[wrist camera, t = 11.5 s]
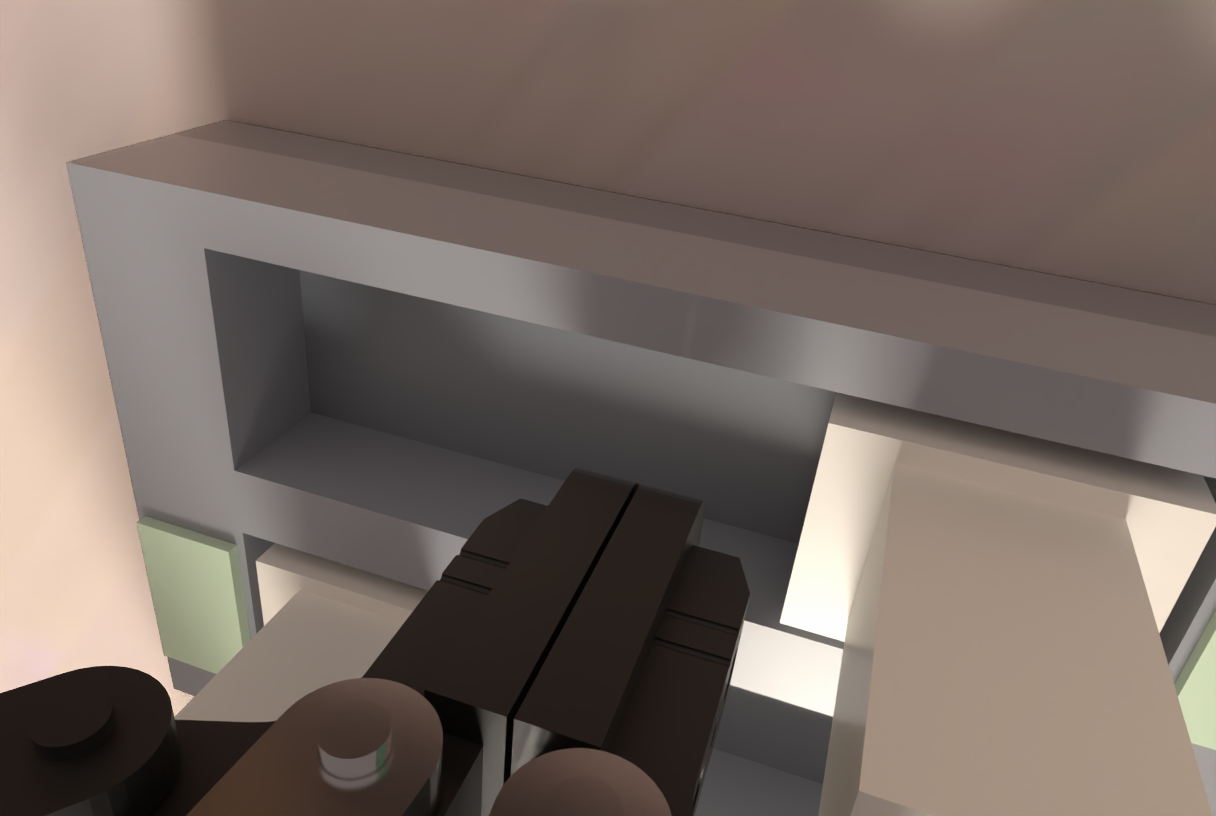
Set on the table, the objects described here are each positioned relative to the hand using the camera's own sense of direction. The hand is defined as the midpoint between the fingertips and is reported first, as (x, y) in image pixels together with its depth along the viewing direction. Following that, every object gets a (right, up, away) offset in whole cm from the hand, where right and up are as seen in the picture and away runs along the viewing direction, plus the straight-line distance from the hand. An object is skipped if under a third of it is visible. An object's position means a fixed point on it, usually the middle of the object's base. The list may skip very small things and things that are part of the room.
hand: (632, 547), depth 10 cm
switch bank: (+1, 0, +5) cm, 5 cm away
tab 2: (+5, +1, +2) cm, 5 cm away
